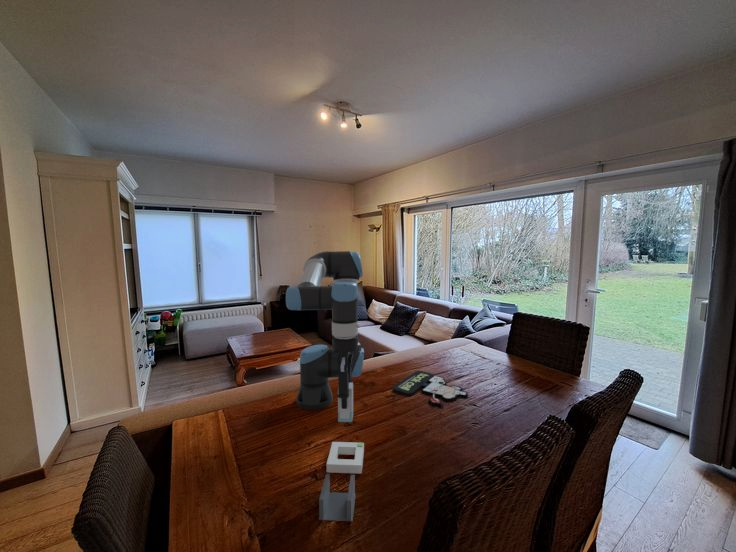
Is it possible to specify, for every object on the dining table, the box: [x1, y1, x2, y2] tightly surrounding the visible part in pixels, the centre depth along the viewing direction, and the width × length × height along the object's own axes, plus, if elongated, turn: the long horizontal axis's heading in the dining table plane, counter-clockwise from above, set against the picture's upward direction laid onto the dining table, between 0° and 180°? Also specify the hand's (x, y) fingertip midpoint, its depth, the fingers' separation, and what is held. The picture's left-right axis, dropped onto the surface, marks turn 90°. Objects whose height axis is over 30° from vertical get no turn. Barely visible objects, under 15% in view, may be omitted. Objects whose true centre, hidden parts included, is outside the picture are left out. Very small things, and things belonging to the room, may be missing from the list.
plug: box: [337, 382, 354, 423], centre depth 87 cm, size 4×4×10 cm
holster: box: [318, 473, 357, 522], centre depth 73 cm, size 8×8×6 cm
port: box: [326, 441, 365, 474], centre depth 89 cm, size 10×10×3 cm
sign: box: [392, 370, 469, 409], centre depth 136 cm, size 27×2×30 cm
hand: (345, 413), depth 88 cm, fingers closed on plug, 4 cm apart
